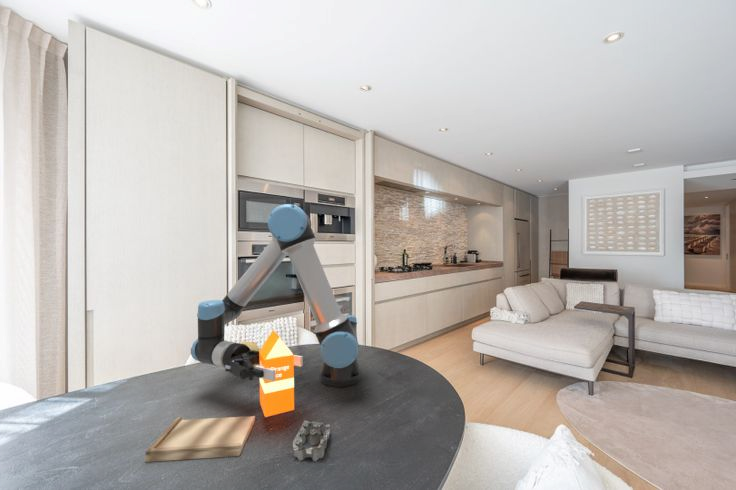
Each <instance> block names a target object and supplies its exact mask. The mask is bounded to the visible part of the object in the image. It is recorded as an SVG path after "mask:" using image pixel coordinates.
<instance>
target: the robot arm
mask: <svg viewBox="0 0 736 490" xmlns="http://www.w3.org/2000/svg"><path fill="white" fill-rule="evenodd" d="M267 227H268V230H269V233H270V234H271V240H270V241H269V243H268V244H267V245H266V246H265V248H264V249H263V250H262V251H261V252H260V254H259V255H258V256H257V258H256V259H255V260H254V261H253V262H252V264H251V265H250V266H249V267H248V269H246V271H245V272H244V274H242V276H241V277H240V278H239V279H238V280H237V282H236V283H235V284H234V285H233V287H231V289H230V290H229V291H228V293H227V294H226V295H225V296H224V298H222V300H220V299H212V300H204V301H201V302H200V303H198V306H197V315H196V316H197V338H196V340H195V341H193V343H192V346H191V347H190V355H191V357H192V358H193V360H195V361H198V362H199V363H201V364H205V365H212V366H216V367H220V368H224V369H225V370H224V371H225V372H226V373H227V372H229V373H231V374H232V375H234V376H236V377H237V378H239V379H241V380H244V381H245V380H246V379H247V377H248V380H249V381H253V380H254V379H255V378H259V379H260V378H262V379H266V380H270V381H275V380H276V373H275V369H271V368H264V367H262V366H260V365H259V366H258V365H257V366H255V369H254V366H253V365H254V364H260V361H259V351H255V350H250V349H249V347H248V346H247V345H245V344H240V342H235V341H230V340H229V341H228V340H225V335H226V334H225V332H226V331H225V325H228V324H229V323H231V322H233V321H234V320H236V319H237V318H238V317H239V316H240V315H241V314H242V312H243V310H244V308H245V307H246V306H247V304H248V303H249V302H250V301H251V299H252V298H253V297H254V295H255V294H256V293H257V292H258V291H259V290H260V288H261V287H262V286H263V284H265V282H266V281H267V280H268V279H269V277H270V276H271V275H272V274H273V273H274V271H275V270H276V269H277V267H278V266H280V264H281V263H282V262H283V261H284V259H286V257H289V258H288V259H289V260H290V263H291V266H292V267H293V270H294V273H295V275H296V277H297V279H298V282H299V284H300V286H301V289H302V291H303V292H302V293H303V294H304V297H305V298H306V299H305V300H306V301H307V305H308V306H309V309H310V311H311V314H312V317H313V318H314V321H315V324H316V326H315V328H314V331H313V332H314V334H315V337H316V339H317V342H318V343H319V346H320V347H319V353H320V354H319V355H320V356H321V359H322V362H323V363H322V365H321V369H320V372H319V381H320V382H321V383H322V384H324V385H325V386H329V387H337V388H340V387H350V386H353V385H355V384H357V383H359V382H360V381H361V380H362V370H361V368H360V364H359V362H358V361H359V360H358V358H357V356H358V354H359V347H360V346H359V341H358V332H357V327H358V326H357V325H358V322H357V321H358V320H357V317H356V316H355V315H353V314H352V315H351V314H344V313H342V312H341V309H340V306H339V304H338V302H337V300H336V297H335V294H334V292H333V289H332V288H331V287H332V286H331V284H330V282H329V279H328V278H327V275H326V272H325V271H324V268H323V265H322V262H321V260H320V258H319V256H318V253H317V251H316V247H315V246H314V245H315V242H316V236H315V233H314V231H313V229H312V220H311V219H310V216H309V215H308V214H307V213H306V212H305V211H304V210H303V209H302V208H301V207H300V206H298V205H296V204H291V203H285V204H280V205H278V206H277V207H275V208H274V209H273V210H272V211H271V212H270V214H269V216H268V220H267ZM293 355H294V367H295V366H296V367H303V365H304V364H303V361H304V360H303V356H302V355H298V354H293Z"/></svg>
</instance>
